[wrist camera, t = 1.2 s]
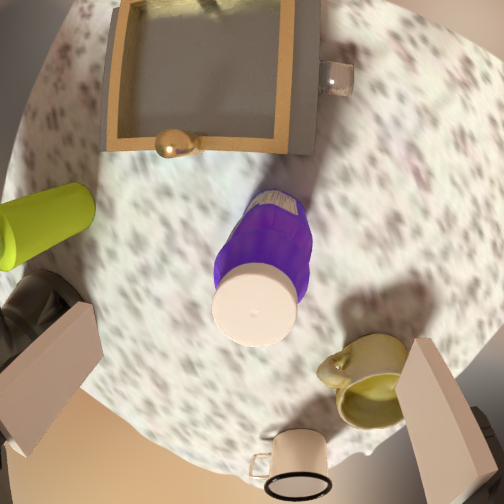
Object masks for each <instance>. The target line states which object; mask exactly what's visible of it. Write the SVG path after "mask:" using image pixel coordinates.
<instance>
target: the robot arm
mask: <svg viewBox="0 0 504 504" xmlns="http://www.w3.org/2000/svg"><path fill="white" fill-rule="evenodd" d="M103 356H104V354H103V350H102V346H101V342H100V337H99V333H98V328H97V324H96V319H95V314H94V309H93V304H89V303H85V302H84V301H83V299H82V298H81V297H80V295H79V294H78V293H77V291H76V290H75V289H74V288H73V287H72V286H71V285H70V284H69V283H68V282H66V281H65V280H64V279H63V278H61V277H60V276H58V275H56V274H54V273H52V272H49V271H46V270H37V271H34V272H32V273H30V274H28V275H27V276H25V277H24V278H22V279H21V280H20V281H19V282H18V284H17V286H16V288H15V289H14V290H13V292H12V293H11V294H10V296H9V297H8V299H7V300H6V302H5V304H4V305H3V307H2V308H1V307H0V504H13V502H12V496H11V490H10V483H9V475H8V466H7V455H6V449H5V446H4V445H3V444H4V442H5V441H6V440H7V441H8V443H9V444H10V446H11V447H12V448H13V450H15V451H16V452H18V453H20V454H21V455H23V456H24V457H26V458H28V457H29V456H30V455H31V453H32V452H33V450H34V449H35V447H36V446H37V445H38V443H39V442H40V440H41V439H42V437H43V436H44V435H45V433H46V432H47V430H48V429H49V428H50V426H51V425H52V423H53V422H54V421H55V419H56V418H57V417H58V415H59V414H60V412H61V411H62V410H63V408H64V407H65V405H66V404H67V403H68V402H69V400H70V399H71V398H72V396H73V395H74V394H75V392H76V391H77V390H78V388H79V387H80V386H81V384H82V383H83V382H84V381H85V379H86V378H87V377H88V375H89V374H90V373H91V371H92V370H93V369H94V368H95V366H96V365H97V364H98V362H99V361H100V360H101V359H102V357H103ZM395 392H396V395H397V398H398V401H399V404H400V407H401V410H402V413H403V416H404V419H405V422H406V426H407V429H408V432H409V436H410V439H411V442H412V446H413V449H414V453H415V456H416V460H417V464H418V467H419V471H420V475H421V479H422V483H423V487H424V490H425V495H426V499H427V503H428V504H504V451H503V449H502V447H501V445H500V443H499V441H498V439H497V437H495V433H494V431H493V429H492V428H491V425H490V423H489V421H488V419H487V417H486V415H485V414H484V413H483V412H482V411H481V410H480V409H479V408H478V407H477V406H475V407H469V405H468V403H467V401H466V400H465V398H464V396H463V394H462V392H461V390H460V389H459V387H458V385H457V383H456V381H455V379H454V377H453V375H452V374H451V372H450V370H449V368H448V367H447V365H446V363H445V361H444V360H443V358H442V356H441V354H440V353H439V351H438V349H437V348H436V346H435V344H434V343H433V341H432V339H431V338H415V339H414V342H413V345H412V348H411V350H410V353H409V356H408V358H407V361H406V363H405V366H404V368H403V371H402V373H401V375H400V378H399V380H398V383H397V385H396V387H395Z"/></svg>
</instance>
